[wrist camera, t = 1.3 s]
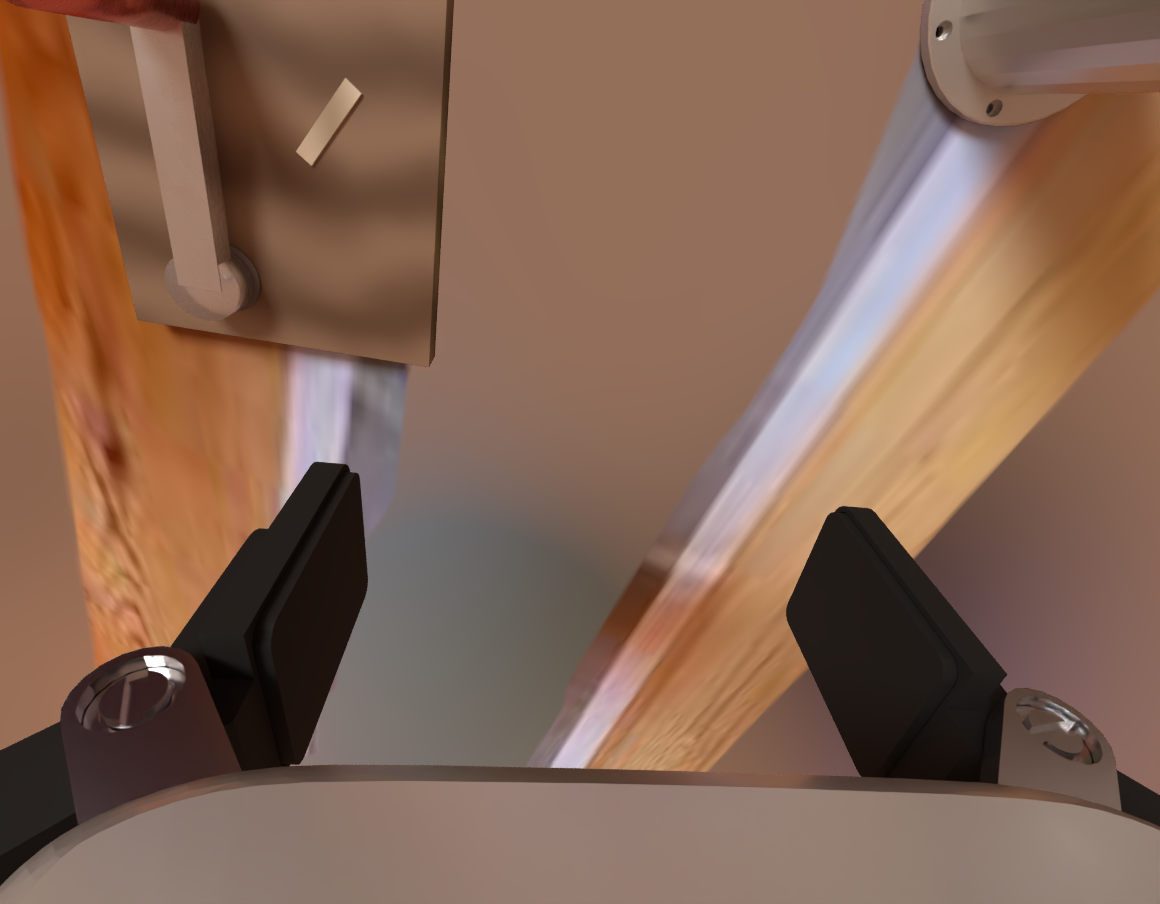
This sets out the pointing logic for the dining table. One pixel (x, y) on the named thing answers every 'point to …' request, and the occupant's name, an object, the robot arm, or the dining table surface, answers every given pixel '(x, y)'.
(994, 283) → the dining table surface
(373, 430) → the dining table surface
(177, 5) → the lever
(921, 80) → the dining table surface
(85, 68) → the lever board
